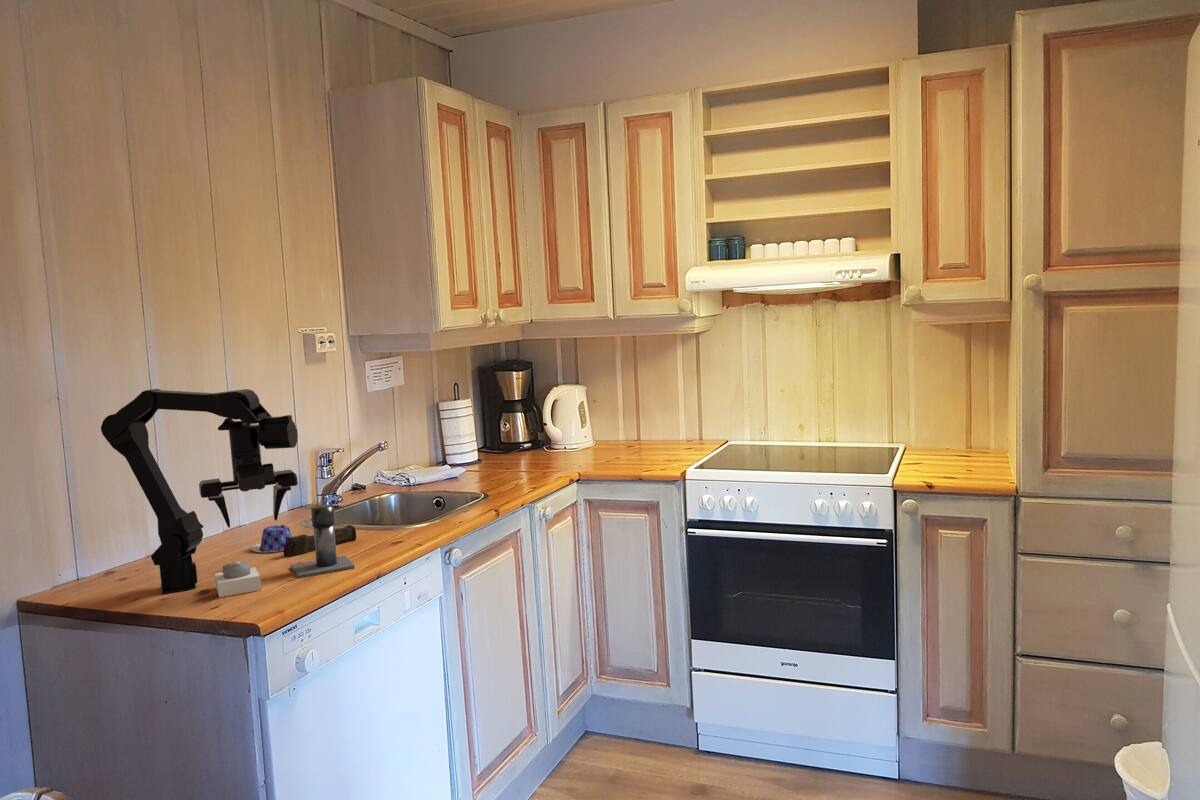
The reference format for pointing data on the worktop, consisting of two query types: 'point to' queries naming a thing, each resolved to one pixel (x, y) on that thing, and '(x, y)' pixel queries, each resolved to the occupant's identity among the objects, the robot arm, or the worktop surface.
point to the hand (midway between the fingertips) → (252, 523)
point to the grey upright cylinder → (324, 535)
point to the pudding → (273, 539)
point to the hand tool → (307, 543)
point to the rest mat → (312, 569)
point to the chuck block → (237, 579)
